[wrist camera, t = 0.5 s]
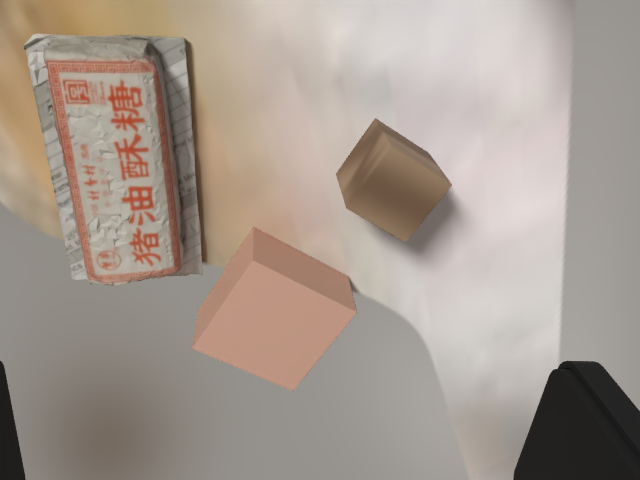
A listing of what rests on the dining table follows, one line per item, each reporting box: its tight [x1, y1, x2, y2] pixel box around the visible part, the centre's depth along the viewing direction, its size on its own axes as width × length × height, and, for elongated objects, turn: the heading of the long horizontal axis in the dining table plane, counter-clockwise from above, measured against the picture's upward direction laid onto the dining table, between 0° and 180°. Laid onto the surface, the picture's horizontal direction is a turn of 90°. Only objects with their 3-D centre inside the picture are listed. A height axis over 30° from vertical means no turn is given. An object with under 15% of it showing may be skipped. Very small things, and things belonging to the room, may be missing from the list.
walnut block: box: [336, 118, 452, 242], centre depth 40 cm, size 5×5×6 cm
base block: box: [192, 227, 357, 391], centre depth 45 cm, size 9×9×5 cm
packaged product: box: [24, 34, 202, 286], centre depth 39 cm, size 18×5×10 cm
